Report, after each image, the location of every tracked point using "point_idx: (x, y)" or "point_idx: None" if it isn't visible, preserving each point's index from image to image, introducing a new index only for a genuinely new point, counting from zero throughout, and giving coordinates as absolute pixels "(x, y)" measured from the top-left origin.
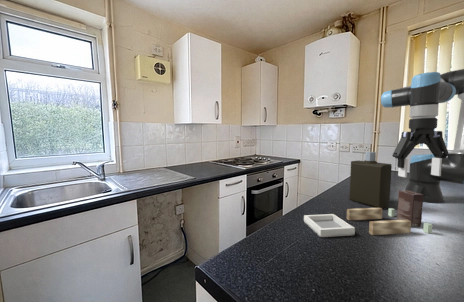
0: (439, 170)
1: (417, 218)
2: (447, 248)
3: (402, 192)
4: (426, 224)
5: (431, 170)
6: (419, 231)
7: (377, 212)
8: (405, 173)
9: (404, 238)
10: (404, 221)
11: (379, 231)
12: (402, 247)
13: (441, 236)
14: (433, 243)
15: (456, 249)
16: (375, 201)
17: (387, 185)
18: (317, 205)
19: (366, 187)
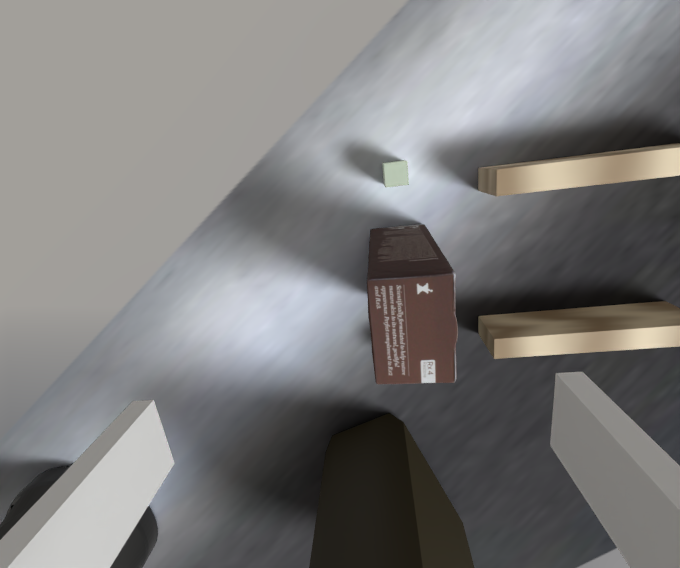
0: (109, 445)
1: (394, 236)
2: (451, 11)
3: (454, 352)
4: (407, 170)
5: (149, 500)
6: (421, 182)
7: (518, 328)
8: (608, 401)
9: (562, 108)
10: (535, 168)
11: (664, 146)
12: (662, 13)
13: (366, 132)
14: (470, 60)
15: (419, 2)
16: (412, 452)
17: (359, 528)
18: None
19: (446, 550)
